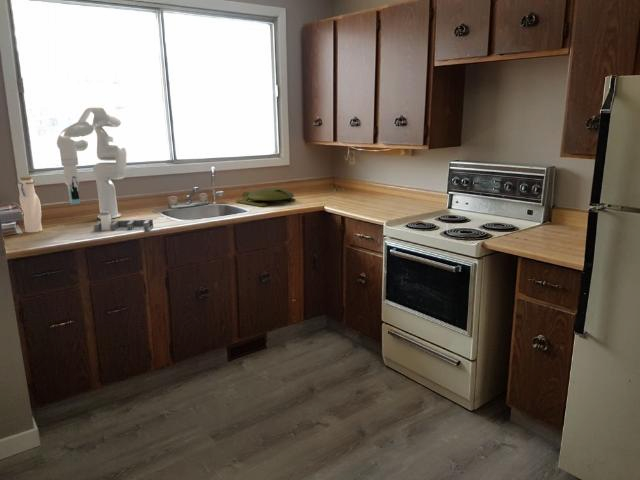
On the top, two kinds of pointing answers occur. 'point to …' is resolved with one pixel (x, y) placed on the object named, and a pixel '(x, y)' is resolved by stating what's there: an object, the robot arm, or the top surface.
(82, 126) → the robot arm
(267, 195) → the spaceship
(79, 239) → the top surface
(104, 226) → the white plug
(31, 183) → the water bottle
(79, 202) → the teal plug
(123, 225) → the comb rack
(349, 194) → the top surface
